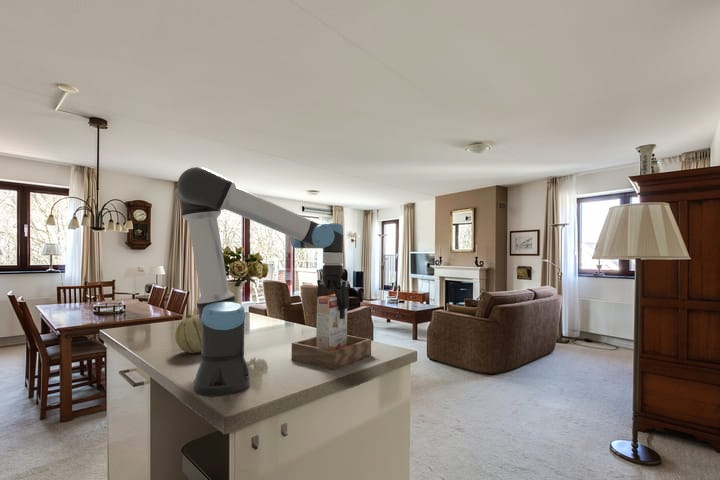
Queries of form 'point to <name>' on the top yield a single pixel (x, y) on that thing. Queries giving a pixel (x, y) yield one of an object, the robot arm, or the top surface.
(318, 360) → the box
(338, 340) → the cracker box
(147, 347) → the top surface
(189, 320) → the cantaloupe
